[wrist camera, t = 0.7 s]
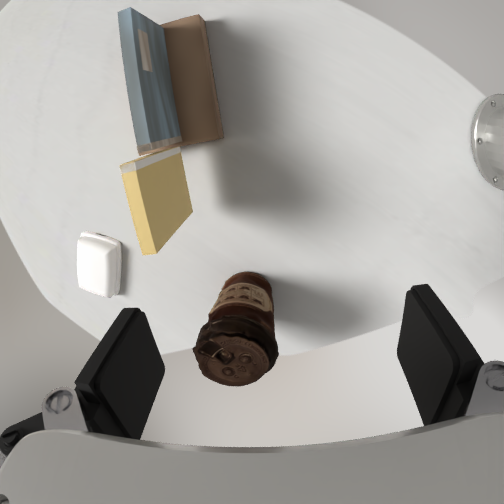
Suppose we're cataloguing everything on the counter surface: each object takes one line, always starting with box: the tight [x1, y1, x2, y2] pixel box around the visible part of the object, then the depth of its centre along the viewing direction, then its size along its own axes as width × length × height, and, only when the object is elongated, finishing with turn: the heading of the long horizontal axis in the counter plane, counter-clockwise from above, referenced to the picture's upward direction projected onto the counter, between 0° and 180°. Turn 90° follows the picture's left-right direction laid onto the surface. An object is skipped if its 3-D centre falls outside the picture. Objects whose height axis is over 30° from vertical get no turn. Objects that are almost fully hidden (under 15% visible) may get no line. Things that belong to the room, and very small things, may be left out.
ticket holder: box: [118, 7, 224, 156], centre depth 25 cm, size 9×14×10 cm, turn 9°
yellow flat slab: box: [119, 146, 193, 255], centre depth 26 cm, size 1×7×10 cm, turn 9°
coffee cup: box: [193, 272, 279, 386], centre depth 34 cm, size 9×8×13 cm
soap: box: [77, 231, 122, 298], centre depth 39 cm, size 9×7×3 cm
